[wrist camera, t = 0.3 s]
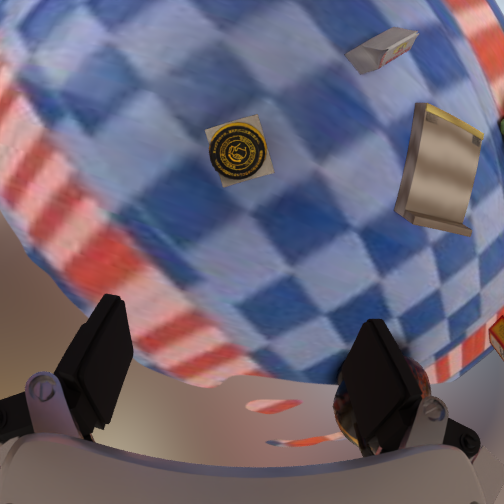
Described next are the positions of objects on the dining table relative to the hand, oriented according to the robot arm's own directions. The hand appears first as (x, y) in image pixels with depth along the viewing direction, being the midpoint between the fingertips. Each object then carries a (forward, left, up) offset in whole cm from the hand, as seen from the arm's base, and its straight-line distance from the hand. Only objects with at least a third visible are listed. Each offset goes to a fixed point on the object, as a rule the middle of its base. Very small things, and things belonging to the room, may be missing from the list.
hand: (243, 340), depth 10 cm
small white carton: (-22, +15, -31) cm, 40 cm away
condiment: (-4, -1, -31) cm, 31 cm away
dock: (-8, +31, -30) cm, 44 cm away
